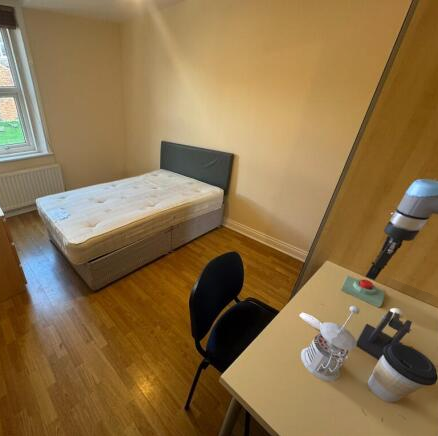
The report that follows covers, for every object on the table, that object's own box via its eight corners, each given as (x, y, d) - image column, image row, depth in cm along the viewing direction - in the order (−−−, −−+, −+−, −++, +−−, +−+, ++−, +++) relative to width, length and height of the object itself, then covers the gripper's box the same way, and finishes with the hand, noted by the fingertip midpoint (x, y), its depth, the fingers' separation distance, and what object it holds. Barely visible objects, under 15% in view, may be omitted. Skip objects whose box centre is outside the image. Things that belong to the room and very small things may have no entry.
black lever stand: (364, 326, 80) (383, 300, 73) (400, 346, 73) (424, 320, 67) (354, 345, 74) (373, 319, 68) (392, 368, 68) (417, 342, 61)
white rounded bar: (322, 335, 77) (325, 329, 76) (297, 318, 83) (300, 313, 81) (326, 330, 79) (329, 324, 77) (301, 313, 84) (304, 308, 83)
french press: (338, 358, 70) (378, 302, 58) (341, 395, 62) (388, 339, 50) (301, 341, 75) (331, 286, 63) (299, 374, 67) (332, 318, 54)
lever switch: (387, 312, 79) (393, 305, 78) (400, 319, 77) (406, 311, 76) (385, 325, 69) (391, 317, 68) (399, 333, 67) (406, 324, 66)
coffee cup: (359, 392, 63) (387, 361, 55) (360, 364, 69) (385, 333, 61) (407, 420, 57) (446, 391, 50) (404, 387, 63) (438, 357, 56)
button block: (382, 295, 91) (387, 287, 89) (379, 308, 86) (384, 300, 84) (345, 279, 99) (349, 272, 97) (340, 290, 94) (344, 282, 92)
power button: (372, 286, 91) (374, 282, 90) (370, 290, 88) (372, 287, 88) (360, 281, 93) (362, 278, 92) (358, 285, 91) (360, 282, 90)
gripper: (391, 214, 83) (361, 264, 95) (386, 228, 75) (354, 280, 87) (421, 222, 78) (385, 274, 90) (419, 237, 70) (380, 292, 82)
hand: (370, 277), depth 88 cm, fingers closed
